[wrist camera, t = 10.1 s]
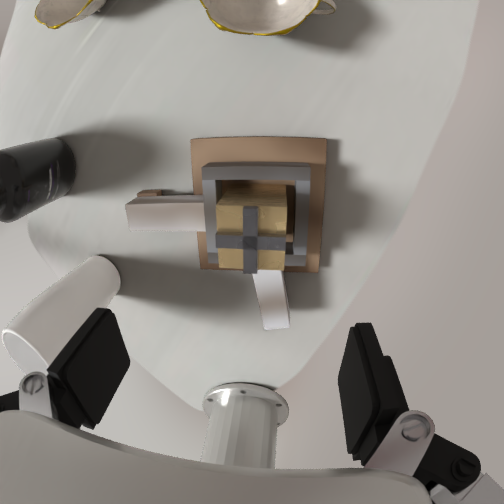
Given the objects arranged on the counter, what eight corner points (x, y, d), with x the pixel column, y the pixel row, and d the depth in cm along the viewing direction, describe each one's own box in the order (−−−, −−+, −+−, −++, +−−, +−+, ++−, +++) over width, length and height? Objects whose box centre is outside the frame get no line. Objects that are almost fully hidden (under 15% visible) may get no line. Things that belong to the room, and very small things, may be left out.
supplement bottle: (86, 184, 26) (3, 227, 15) (48, 204, 27) (-26, 247, 17) (67, 125, 23) (-22, 145, 13) (31, 151, 25) (-48, 180, 14)
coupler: (283, 234, 25) (283, 275, 19) (233, 232, 26) (217, 272, 19) (285, 184, 23) (287, 210, 17) (231, 183, 24) (213, 208, 18)
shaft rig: (312, 308, 30) (314, 331, 27) (160, 301, 31) (149, 321, 28) (324, 138, 23) (332, 141, 19) (138, 144, 24) (118, 149, 21)
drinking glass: (108, 239, 29) (17, 323, 15) (138, 290, 31) (71, 390, 18) (72, 258, 30) (-9, 334, 17) (100, 303, 33) (36, 389, 19)
